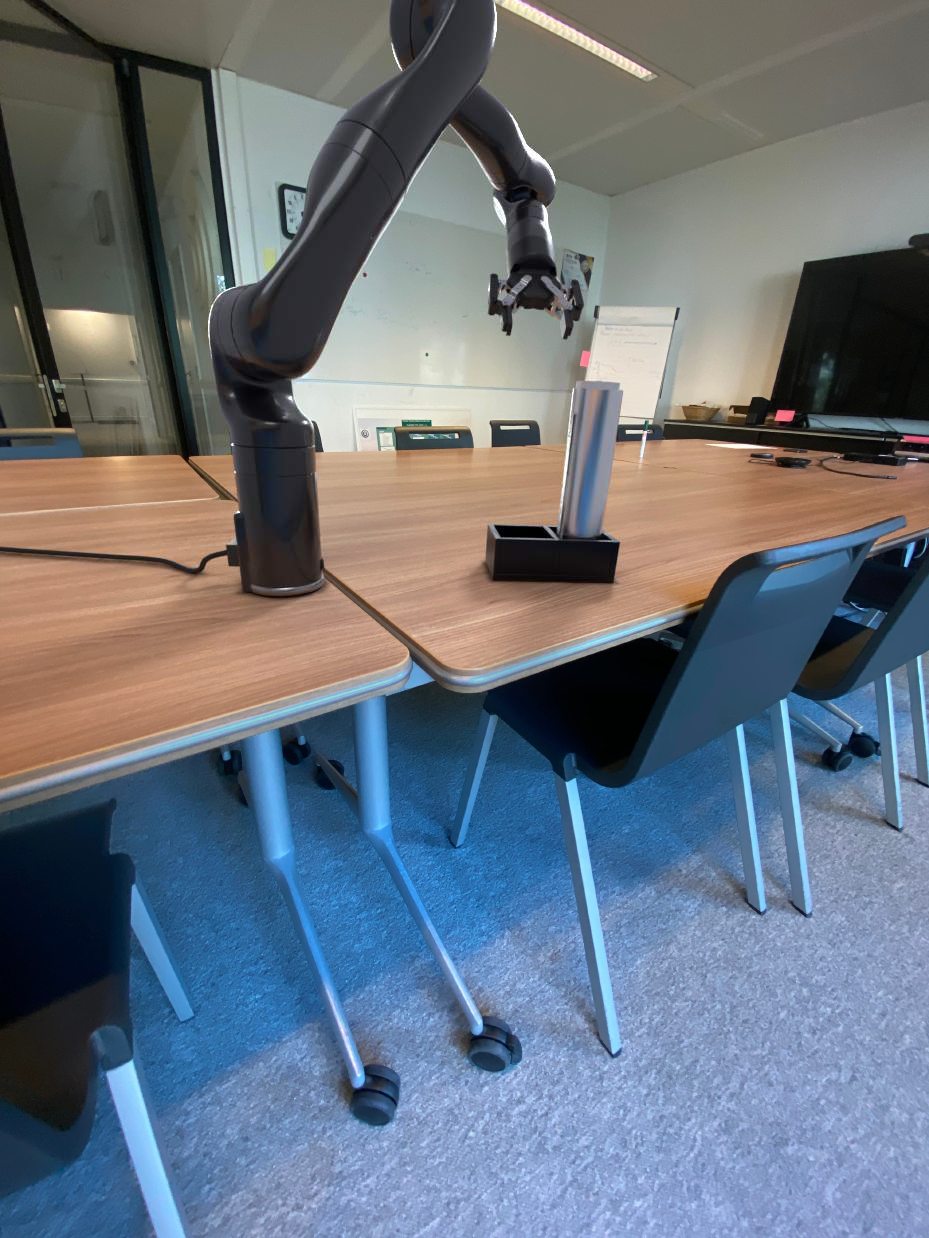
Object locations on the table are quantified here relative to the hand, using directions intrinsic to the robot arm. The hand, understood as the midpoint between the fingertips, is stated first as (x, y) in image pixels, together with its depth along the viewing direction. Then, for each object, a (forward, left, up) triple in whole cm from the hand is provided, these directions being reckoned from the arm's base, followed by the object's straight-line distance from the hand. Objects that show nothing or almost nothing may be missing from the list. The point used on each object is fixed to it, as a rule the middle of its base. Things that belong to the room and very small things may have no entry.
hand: (538, 332), depth 78 cm
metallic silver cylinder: (+6, -12, -32) cm, 35 cm away
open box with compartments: (+2, -13, -33) cm, 35 cm away
